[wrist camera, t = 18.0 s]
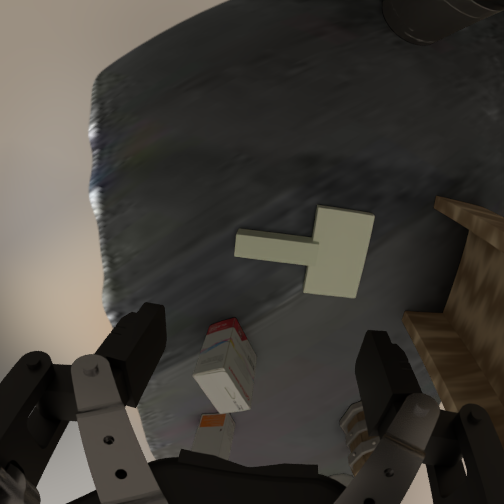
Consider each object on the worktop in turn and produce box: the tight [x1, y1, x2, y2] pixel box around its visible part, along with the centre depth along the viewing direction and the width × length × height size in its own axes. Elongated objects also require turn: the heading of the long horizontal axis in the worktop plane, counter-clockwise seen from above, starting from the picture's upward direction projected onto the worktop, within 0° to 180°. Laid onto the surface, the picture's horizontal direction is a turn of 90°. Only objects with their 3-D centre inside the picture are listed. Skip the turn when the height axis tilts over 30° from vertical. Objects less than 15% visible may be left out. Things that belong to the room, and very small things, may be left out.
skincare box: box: [191, 413, 235, 460], centre depth 51 cm, size 6×4×12 cm
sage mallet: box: [234, 205, 375, 298], centre depth 41 cm, size 12×17×2 cm
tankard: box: [340, 401, 380, 477], centre depth 48 cm, size 20×13×15 cm, turn 165°
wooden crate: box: [402, 196, 504, 449], centre depth 26 cm, size 20×9×32 cm, turn 175°
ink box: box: [193, 318, 257, 414], centre depth 43 cm, size 9×5×12 cm, turn 23°
